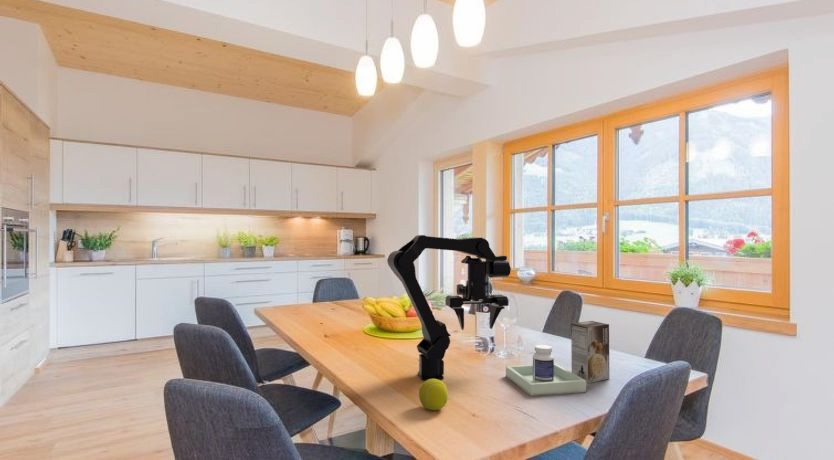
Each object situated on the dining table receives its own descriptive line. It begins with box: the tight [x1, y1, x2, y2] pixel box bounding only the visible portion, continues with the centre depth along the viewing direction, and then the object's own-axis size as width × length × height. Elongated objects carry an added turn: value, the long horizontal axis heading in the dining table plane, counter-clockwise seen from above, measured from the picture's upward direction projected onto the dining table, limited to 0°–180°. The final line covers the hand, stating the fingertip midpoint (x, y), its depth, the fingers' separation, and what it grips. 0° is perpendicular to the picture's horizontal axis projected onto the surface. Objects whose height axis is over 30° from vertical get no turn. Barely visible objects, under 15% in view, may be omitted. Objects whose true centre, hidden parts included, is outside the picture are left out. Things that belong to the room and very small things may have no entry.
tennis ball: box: [418, 379, 449, 411], centre depth 103 cm, size 7×7×7 cm
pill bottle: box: [532, 344, 555, 383], centre depth 121 cm, size 6×6×10 cm
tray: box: [505, 362, 587, 397], centre depth 121 cm, size 16×16×3 cm
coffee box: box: [570, 320, 610, 384], centre depth 127 cm, size 9×6×16 cm
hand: (476, 329), depth 132 cm, fingers open, 9 cm apart
